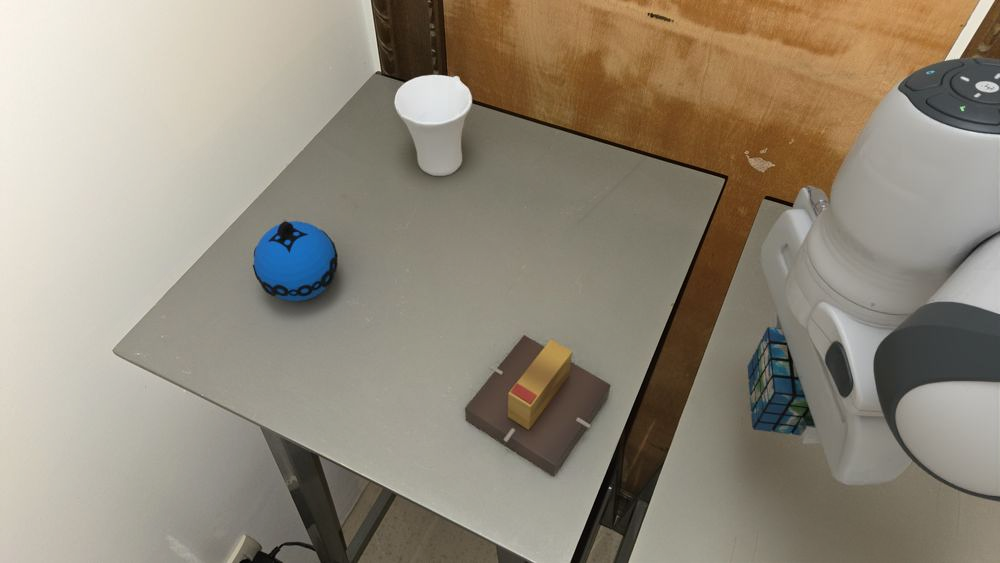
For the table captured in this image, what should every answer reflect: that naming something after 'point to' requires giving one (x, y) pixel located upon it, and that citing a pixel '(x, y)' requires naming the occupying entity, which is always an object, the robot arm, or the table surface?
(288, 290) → the ornament
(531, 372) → the stamp
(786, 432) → the puzzle
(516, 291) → the table surface
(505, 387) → the stamp base
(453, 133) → the cup
